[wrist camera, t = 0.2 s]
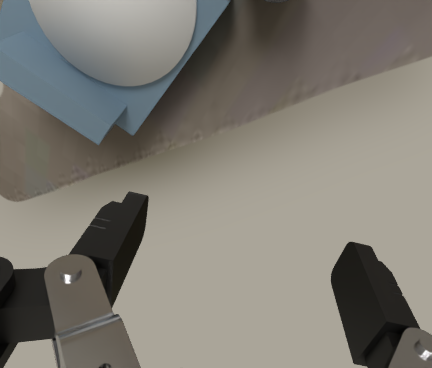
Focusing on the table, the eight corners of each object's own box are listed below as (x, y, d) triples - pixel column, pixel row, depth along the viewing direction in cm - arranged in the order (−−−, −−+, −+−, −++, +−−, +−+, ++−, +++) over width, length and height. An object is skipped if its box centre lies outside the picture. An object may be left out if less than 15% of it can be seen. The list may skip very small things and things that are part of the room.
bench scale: (86, -168, 22) (14, -209, 16) (241, -17, 26) (234, -1, 20) (19, 32, 31) (-44, 57, 24) (142, 120, 35) (116, 161, 29)
